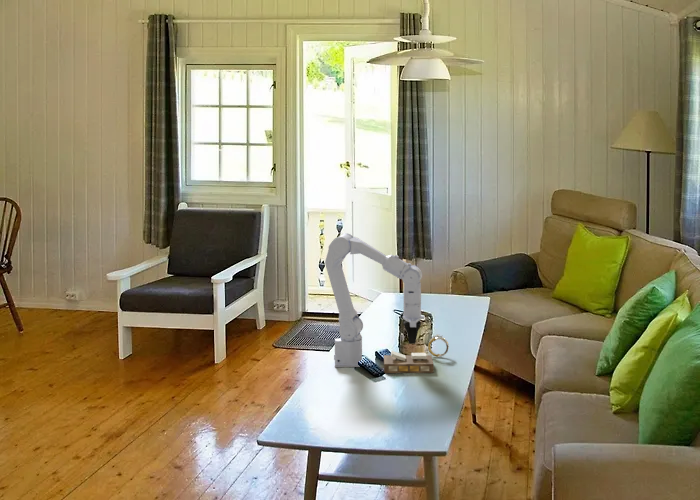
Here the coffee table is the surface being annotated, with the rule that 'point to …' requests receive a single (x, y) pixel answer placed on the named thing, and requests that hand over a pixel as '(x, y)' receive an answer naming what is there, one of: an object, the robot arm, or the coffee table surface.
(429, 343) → the ring
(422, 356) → the rocker right
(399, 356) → the block
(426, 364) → the switch box
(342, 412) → the coffee table surface
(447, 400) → the coffee table surface
